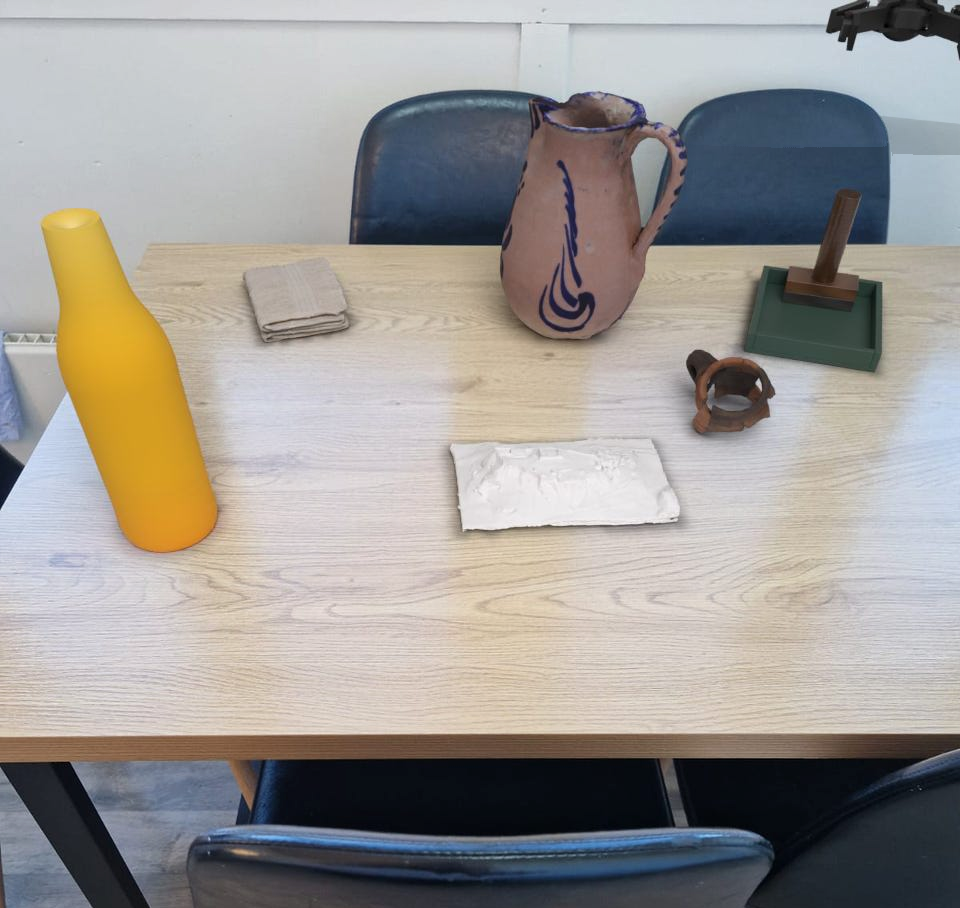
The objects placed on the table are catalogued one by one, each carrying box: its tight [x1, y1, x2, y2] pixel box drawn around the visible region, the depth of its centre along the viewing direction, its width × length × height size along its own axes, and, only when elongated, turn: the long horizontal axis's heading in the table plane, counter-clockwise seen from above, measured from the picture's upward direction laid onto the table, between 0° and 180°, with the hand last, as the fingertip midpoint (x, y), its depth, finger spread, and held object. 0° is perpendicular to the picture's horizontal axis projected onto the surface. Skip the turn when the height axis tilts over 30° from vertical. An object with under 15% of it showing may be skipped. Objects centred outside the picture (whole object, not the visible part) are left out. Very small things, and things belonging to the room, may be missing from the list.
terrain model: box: [449, 436, 681, 533], centre depth 88 cm, size 17×23×5 cm
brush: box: [781, 188, 863, 312], centre depth 111 cm, size 9×4×14 cm, turn 72°
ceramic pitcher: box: [499, 90, 688, 340], centre depth 102 cm, size 18×21×25 cm
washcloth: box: [242, 257, 350, 343], centre depth 113 cm, size 12×18×3 cm, turn 19°
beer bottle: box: [40, 207, 218, 553], centre depth 74 cm, size 9×9×29 cm
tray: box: [744, 265, 883, 373], centre depth 111 cm, size 16×20×2 cm
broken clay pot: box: [685, 349, 776, 434], centre depth 96 cm, size 12×10×8 cm
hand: (909, 43), depth 108 cm, fingers open, 13 cm apart
